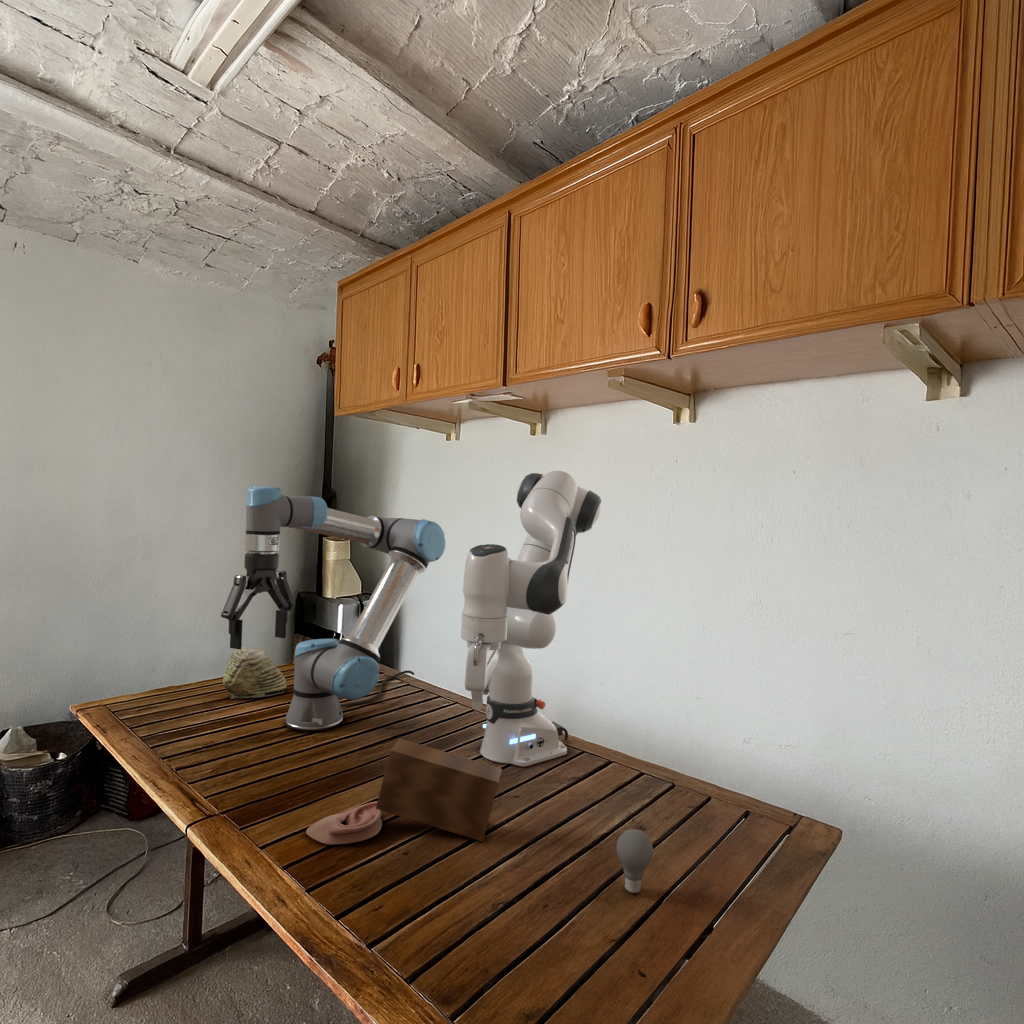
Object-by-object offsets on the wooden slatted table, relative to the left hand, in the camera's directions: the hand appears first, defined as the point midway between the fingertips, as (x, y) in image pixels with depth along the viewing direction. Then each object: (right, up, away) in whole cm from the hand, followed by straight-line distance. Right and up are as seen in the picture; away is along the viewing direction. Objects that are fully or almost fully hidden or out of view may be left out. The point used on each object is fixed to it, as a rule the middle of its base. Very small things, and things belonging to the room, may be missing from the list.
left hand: (258, 642), depth 148 cm
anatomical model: (+27, -30, -28) cm, 49 cm away
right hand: (+53, -6, -26) cm, 60 cm away
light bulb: (+79, -33, -43) cm, 96 cm away
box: (+44, -29, -25) cm, 58 cm away
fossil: (-21, -27, +50) cm, 60 cm away
